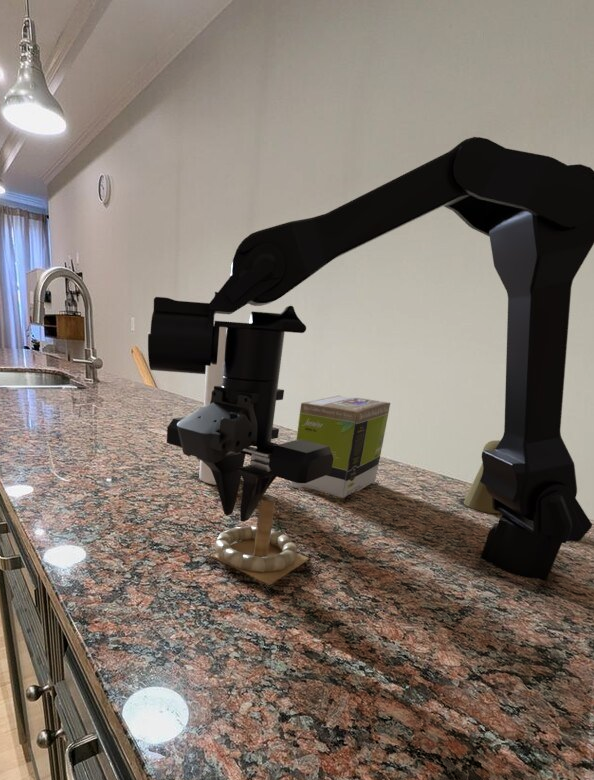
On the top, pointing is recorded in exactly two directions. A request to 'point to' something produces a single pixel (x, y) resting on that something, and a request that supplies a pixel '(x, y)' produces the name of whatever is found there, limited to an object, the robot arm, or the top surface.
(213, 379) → the cylindrical container
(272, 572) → the post
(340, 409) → the tea box
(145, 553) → the top surface
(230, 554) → the bracelet
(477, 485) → the game pawn
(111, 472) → the top surface
